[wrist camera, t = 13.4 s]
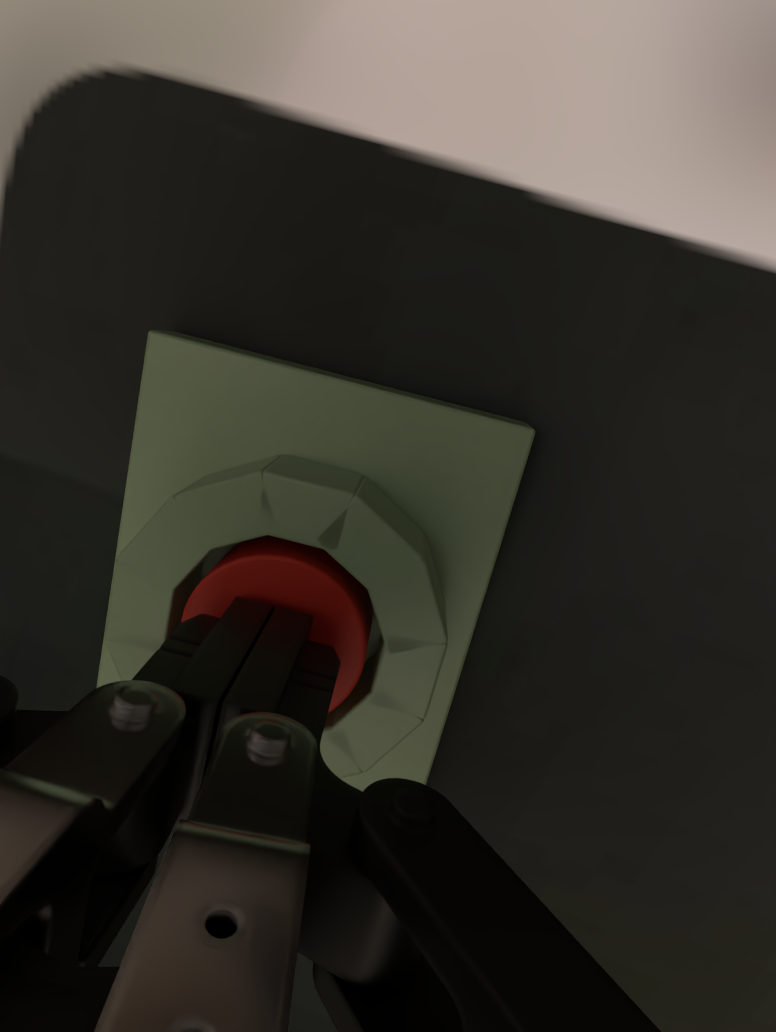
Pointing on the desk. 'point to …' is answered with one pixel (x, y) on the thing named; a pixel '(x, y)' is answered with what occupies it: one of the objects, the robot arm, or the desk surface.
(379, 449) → the button box
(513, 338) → the desk surface
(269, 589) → the button
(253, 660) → the robot arm
